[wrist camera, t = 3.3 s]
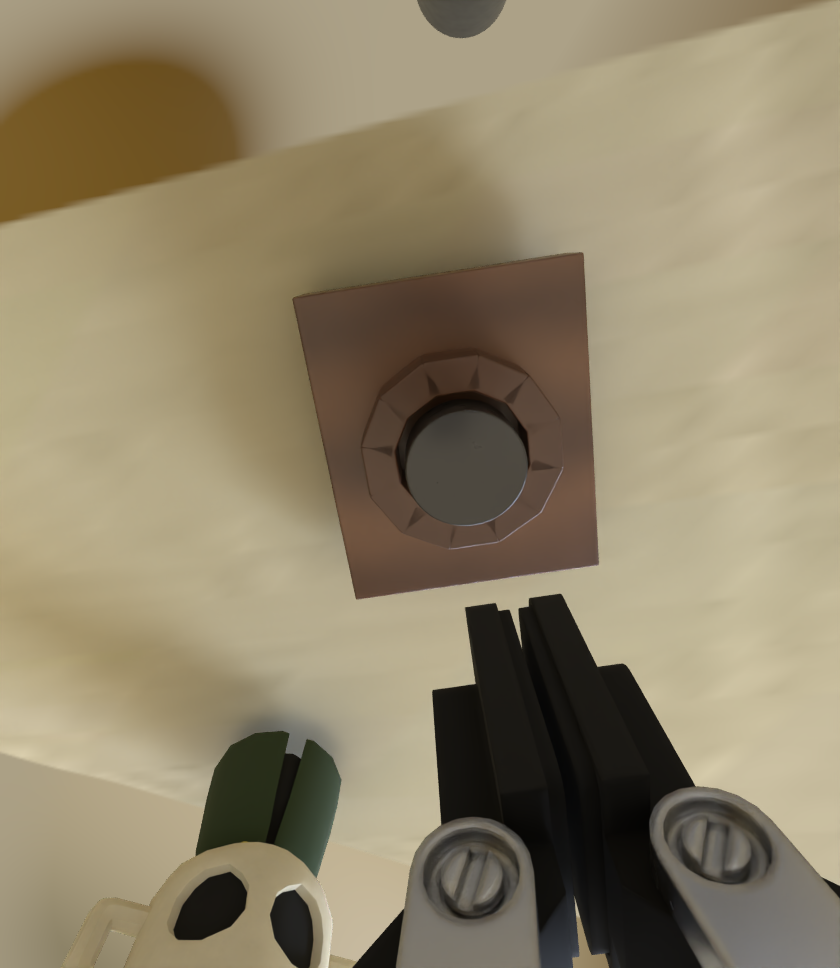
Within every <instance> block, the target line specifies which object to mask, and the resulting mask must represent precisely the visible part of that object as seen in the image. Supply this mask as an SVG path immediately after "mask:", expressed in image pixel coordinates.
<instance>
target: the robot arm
mask: <svg viewBox="0 0 840 968" xmlns="http://www.w3.org/2000/svg"><path fill="white" fill-rule="evenodd" d="M465 611H466V618H467V625H468V632H469V640H470V647H471V654H472V661H473V668H474V675H475V682H476V684H473V685H466V686H459V687H452V688H445V689H438V690H433V692H432V695H433V711H434V725H435V740H436V754H437V768H438V783H439V797H440V812H441V826H439V827H438V828H437V829H435V830H434V831H433V832H432V833H430V834H429V835H428V836H427V837H426V838H425V839H424V840H423V842H422V843H421V845H420V846H419V848H418V849H417V851H416V852H415V855H414V858H413V862H412V865H411V868H410V873H409V880H408V887H407V894H406V901H405V908H404V909H403V910H402V912H401V913H400V914H399V915H398V916H397V917H396V918H395V919H394V921H393V922H392V923H391V924H390V925H389V926H388V927H387V928H386V930H385V931H384V932H383V933H382V934H381V935H380V937H379V938H378V939H377V940H376V941H375V942H374V943H373V944H372V946H371V947H370V948H369V949H368V950H367V951H366V952H365V954H364V955H363V956H362V957H361V958H360V959H359V961H358V962H357V963H356V964H355V965H354V966H353V967H352V968H573V962H572V958H573V957H579V945H578V934H577V922H576V911H575V900H576V903H577V907H578V911H579V914H580V918H581V922H582V925H583V929H584V933H585V936H586V940H587V943H588V947H589V950H590V952H591V954H592V955H595V954H604V953H605V955H606V958H607V961H608V964H609V968H840V886H839V885H837V884H835V883H833V882H830V881H828V880H826V879H824V878H822V877H821V876H820V875H819V874H818V873H817V872H816V871H815V869H814V868H813V867H812V866H811V865H810V864H809V862H808V861H807V860H806V859H805V858H804V857H803V856H802V854H801V853H800V852H799V851H798V850H797V849H796V847H795V846H794V845H793V844H792V843H791V842H790V841H789V839H788V838H787V837H786V836H785V835H784V834H783V832H782V831H781V830H780V829H779V828H778V827H777V826H776V824H775V823H774V822H773V821H772V820H771V819H770V818H769V817H768V816H767V815H765V814H764V813H763V812H762V811H761V810H760V809H759V808H758V807H757V806H755V805H753V804H752V803H750V802H748V801H746V800H745V799H743V798H741V797H740V796H738V795H735V794H732V793H729V792H726V791H723V790H720V789H716V788H708V787H699V786H697V787H696V786H695V785H694V783H693V781H692V779H691V778H690V776H689V774H688V772H687V770H686V769H685V767H684V765H683V763H682V762H681V760H680V758H679V756H678V755H677V753H676V751H675V749H674V747H673V746H672V744H671V742H670V740H669V739H668V737H667V735H666V733H665V732H664V730H663V728H662V726H661V725H660V723H659V721H658V719H657V717H656V716H655V714H654V712H653V710H652V709H651V707H650V705H649V703H648V702H647V700H646V698H645V696H644V694H643V693H642V691H641V689H640V687H639V686H638V684H637V682H636V680H635V679H634V677H633V675H632V673H631V672H630V670H629V669H628V667H627V666H626V665H624V664H616V665H608V666H601V667H597V665H596V663H595V661H594V659H593V657H592V655H591V653H590V651H589V649H588V647H587V645H586V643H585V641H584V639H583V637H582V635H581V633H580V631H579V629H578V626H577V624H576V622H575V620H574V618H573V616H572V614H571V612H570V610H569V608H568V606H567V604H566V602H565V600H564V598H563V596H562V595H561V594H555V595H548V596H541V597H534V598H529V607H524V608H519V622H520V632H521V641H522V648H521V644H520V641H519V638H518V635H517V632H516V629H515V625H514V622H513V619H512V616H511V613H510V610H503V611H498V608H497V605H496V603H493V604H486V605H479V606H472V607H465ZM522 650H523V651H522ZM574 896H575V899H574Z"/></svg>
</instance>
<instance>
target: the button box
mask: <svg viewBox="0 0 840 968" xmlns="http://www.w3.org/2000/svg"><path fill="white" fill-rule="evenodd" d="M293 304H294V309H295V314H296V318H297V323H298V328H299V332H300V337H301V342H302V347H303V351H304V356H305V361H306V365H307V370H308V375H309V380H310V384H311V389H312V394H313V398H314V403H315V408H316V413H317V417H318V422H319V427H320V432H321V436H322V441H323V446H324V450H325V455H326V460H327V465H328V469H329V474H330V479H331V483H332V488H333V493H334V498H335V502H336V507H337V512H338V517H339V521H340V526H341V531H342V535H343V540H344V545H345V550H346V554H347V559H348V564H349V568H350V573H351V578H352V583H353V587H354V592H355V597H356V599H364V598H371V597H378V596H385V595H392V594H399V593H406V592H413V591H420V590H427V589H434V588H441V587H448V586H456V585H463V584H470V583H477V582H484V581H491V580H498V579H505V578H512V577H519V576H526V575H533V574H540V573H547V572H554V571H561V570H568V569H575V568H582V567H590V566H597V565H599V558H598V537H597V517H596V497H595V477H594V456H593V436H592V416H591V395H590V375H589V355H588V335H587V314H586V294H585V274H584V254H583V253H582V252H579V253H563V254H556V255H550V256H544V257H537V258H531V259H524V260H518V261H512V262H505V263H499V264H492V265H486V266H480V267H473V268H467V269H460V270H454V271H448V272H441V273H435V274H428V275H422V276H416V277H409V278H403V279H396V280H390V281H384V282H377V283H371V284H365V285H358V286H352V287H345V288H339V289H333V290H326V291H320V292H313V293H307V294H302V295H299V296H296V297H294V298H293ZM455 399H473V400H478V401H481V402H485V403H487V404H489V405H491V406H493V407H494V408H496V409H498V410H499V411H500V412H501V413H502V414H503V415H504V416H505V417H506V418H507V419H508V420H509V422H510V423H511V425H512V426H513V428H514V429H515V431H516V432H517V434H518V435H519V437H520V439H521V440H522V443H523V445H524V447H525V450H526V454H527V460H528V471H527V478H526V482H525V485H524V487H523V490H522V492H521V493H520V495H519V497H518V498H517V500H516V501H515V502H514V504H513V505H512V506H511V507H510V508H509V509H508V510H506V511H505V512H504V513H503V514H501V515H500V516H498V517H497V518H495V519H493V520H490V521H488V522H485V523H482V524H478V525H472V526H457V525H451V524H447V523H444V522H441V521H439V520H437V519H435V518H433V517H431V516H430V515H428V514H427V513H426V512H425V511H423V510H422V509H421V508H420V506H419V505H418V504H417V503H416V501H415V500H414V499H413V497H412V495H411V493H410V491H409V488H408V485H407V481H406V473H405V450H406V444H407V440H408V437H409V434H410V432H411V430H412V428H413V427H414V425H415V424H416V422H417V421H418V420H419V419H420V417H421V416H422V415H424V414H425V413H426V412H427V411H428V410H430V409H431V408H433V407H435V406H436V405H438V404H441V403H443V402H446V401H450V400H455Z"/></svg>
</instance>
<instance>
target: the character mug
mask: <svg viewBox="0 0 840 968" xmlns="http://www.w3.org/2000/svg"><path fill="white" fill-rule="evenodd" d="M288 738H289V733H286V732H284V731H277V732H264V733H255V734H253V735H251V736H249V737H247V738H245V739H243V740H241V741H239V742H237V743H235V744H233V745H231V746H230V747H229V749H228V750H227V752H226V753H225V755H224V756H223V757H222V759H221V760H220V762H219V763H218V765H217V766H216V768H215V770H214V773H213V777H212V781H211V785H210V788H209V792H208V796H207V800H206V805H205V810H204V815H203V820H202V824H201V829H200V834H199V839H198V843H197V848H196V856H195V857H193V858H191V859H190V860H188V861H186V862H184V863H182V864H181V865H180V866H179V867H178V868H177V869H176V870H175V871H174V872H173V873H172V874H171V875H170V877H169V878H168V879H167V880H166V882H165V883H164V884H163V886H162V887H161V888H160V889H159V891H158V892H157V894H156V895H155V896H154V897H153V899H152V900H151V903H150V905H149V906H146V905H142V904H138V903H135V902H131V901H127V900H123V899H120V898H103V899H101V900H100V901H99V902H98V903H97V904H96V905H95V906H94V907H93V908H92V909H91V910H90V912H89V913H88V915H87V917H86V919H85V921H84V923H83V925H82V927H81V929H80V931H79V933H78V935H77V937H76V939H75V941H74V942H73V944H72V947H71V948H70V950H69V952H68V954H67V956H66V958H65V960H64V962H63V964H62V966H61V968H94V965H95V963H96V960H97V958H98V956H99V954H100V952H101V949H102V947H103V945H104V943H105V941H106V939H107V936H108V934H109V932H116V933H120V934H124V935H128V936H131V937H135V938H136V940H135V942H134V944H133V946H132V949H131V951H130V954H129V956H128V958H127V961H126V963H125V966H124V968H352V967H353V966H354V965H355V964H356V963H357V962H356V961H352V960H349V959H345V958H341V957H338V956H334V955H330V948H331V937H332V927H333V920H332V916H331V913H330V909H329V906H328V903H327V899H326V896H325V892H324V889H323V887H322V886H321V884H320V882H319V881H318V880H317V879H316V878H317V875H318V872H319V869H320V865H321V862H322V858H323V855H324V852H325V849H326V845H327V843H328V839H329V836H330V833H331V829H332V825H333V821H334V817H335V813H336V809H337V804H338V798H339V791H340V785H341V778H340V775H339V773H338V770H337V768H336V765H335V763H334V760H333V758H332V757H331V756H330V755H329V754H328V753H327V752H326V751H325V750H323V749H322V748H321V747H320V746H319V745H318V744H317V743H316V742H314V741H312V740H308V739H307V740H306V744H305V747H304V751H303V754H302V758H301V759H300V758H299V757H297V756H296V755H294V754H286V753H285V751H286V746H287V742H288Z"/></svg>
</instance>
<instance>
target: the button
mask: <svg viewBox="0 0 840 968" xmlns="http://www.w3.org/2000/svg"><path fill="white" fill-rule="evenodd" d="M527 471H528V460H527V454H526V450H525V447H524V445H523V443H522V440H521V439H520V437H519V435H518V434H517V432H516V431H515V429H514V428H513V426H512V425H511V423H510V422H509V420H508V419H507V418H506V417H505V416H504V415H503V414H502V413H501V412H500V411H499V410H498V409H496V408H494V407H493V406H491V405H489V404H487V403H485V402H481V401H478V400H473V399H455V400H450V401H446V402H443V403H441V404H438V405H436V406H435V407H433V408H431V409H430V410H428V411H427V412H426V413H425V414H424V415H422V416H421V417H420V419H419V420H418V421H417V422H416V424H415V425H414V427H413V428H412V430H411V432H410V434H409V437H408V440H407V444H406V450H405V473H406V481H407V485H408V488H409V491H410V493H411V495H412V497H413V499H414V500H415V501H416V503H417V504H418V505H419V506H420V508H421V509H422V510H423V511H425V512H426V513H427V514H428V515H430V516H431V517H433V518H435V519H437V520H439V521H441V522H444V523H447V524H451V525H457V526H472V525H478V524H482V523H485V522H488V521H490V520H493V519H495V518H497V517H498V516H500V515H501V514H503V513H504V512H505V511H506V510H508V509H509V508H510V507H511V506H512V505H513V504H514V502H515V501H516V500H517V498H518V497H519V495H520V493H521V492H522V490H523V487H524V485H525V482H526V478H527Z"/></svg>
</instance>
